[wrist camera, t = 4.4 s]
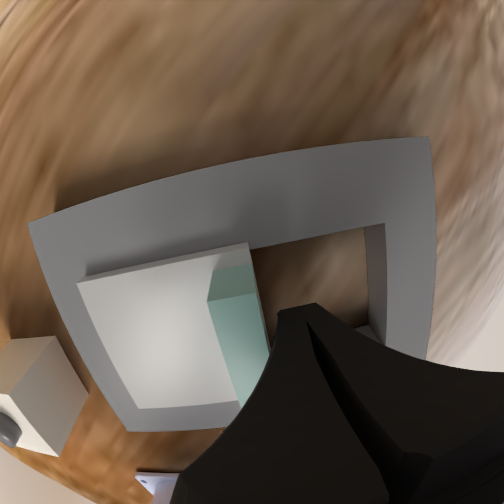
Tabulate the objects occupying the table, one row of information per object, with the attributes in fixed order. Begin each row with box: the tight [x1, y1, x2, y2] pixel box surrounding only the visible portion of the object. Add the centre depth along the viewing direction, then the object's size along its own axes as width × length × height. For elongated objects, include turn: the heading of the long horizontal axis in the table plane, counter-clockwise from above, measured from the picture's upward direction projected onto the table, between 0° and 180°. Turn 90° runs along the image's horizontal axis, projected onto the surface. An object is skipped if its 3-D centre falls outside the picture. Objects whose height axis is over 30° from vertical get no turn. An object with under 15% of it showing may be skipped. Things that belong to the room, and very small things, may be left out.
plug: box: [0, 336, 89, 457], centre depth 11 cm, size 4×4×6 cm
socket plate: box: [27, 137, 436, 432], centre depth 11 cm, size 11×15×2 cm
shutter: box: [77, 242, 271, 409], centre depth 9 cm, size 6×6×3 cm
